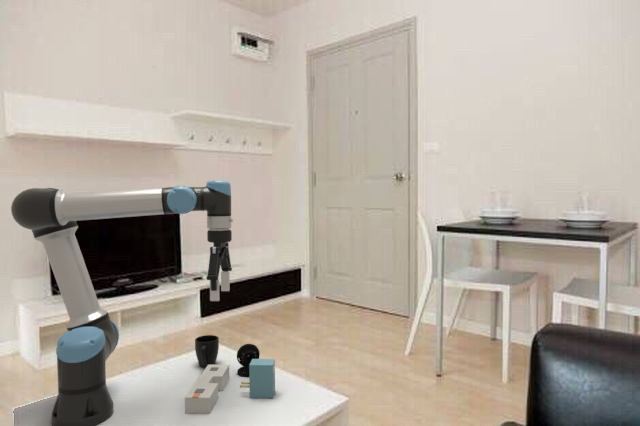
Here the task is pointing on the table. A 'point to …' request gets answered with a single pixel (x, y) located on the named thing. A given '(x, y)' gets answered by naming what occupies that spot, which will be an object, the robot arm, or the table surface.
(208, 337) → the mug
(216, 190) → the robot arm
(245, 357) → the webcam
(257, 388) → the charger
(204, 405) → the power strip
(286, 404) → the table surface
